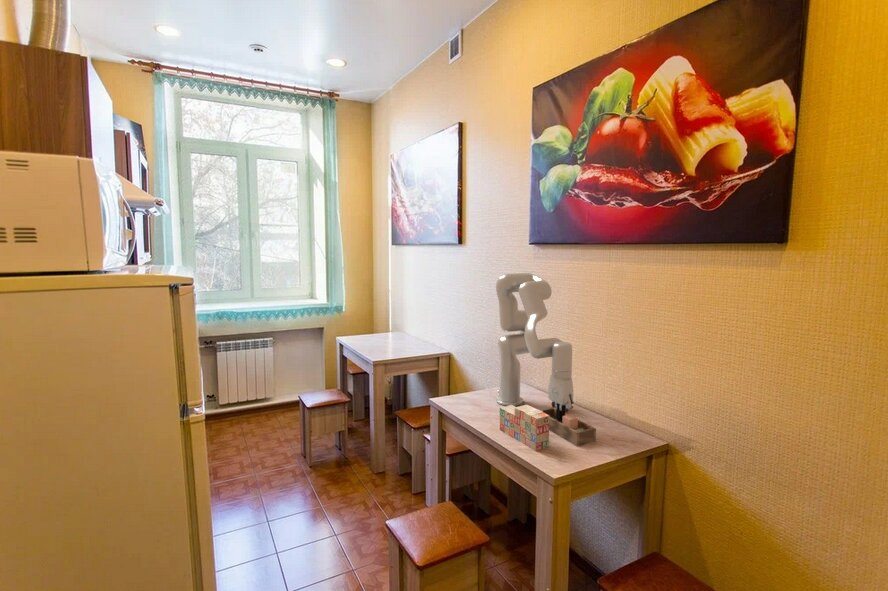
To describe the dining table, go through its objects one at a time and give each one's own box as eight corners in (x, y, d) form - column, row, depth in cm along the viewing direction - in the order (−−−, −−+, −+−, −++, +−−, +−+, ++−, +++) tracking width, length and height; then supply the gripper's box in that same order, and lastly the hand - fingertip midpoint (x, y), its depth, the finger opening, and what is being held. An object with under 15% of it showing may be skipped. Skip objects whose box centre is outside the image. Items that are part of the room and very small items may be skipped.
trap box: (536, 422, 179) (536, 410, 179) (553, 418, 183) (553, 407, 182) (576, 446, 158) (577, 433, 157) (595, 441, 161) (596, 428, 161)
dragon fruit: (573, 412, 195) (554, 421, 189) (561, 397, 200) (542, 405, 194) (581, 401, 189) (562, 410, 183) (568, 385, 194) (549, 394, 188)
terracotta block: (562, 426, 168) (562, 416, 168) (570, 424, 170) (570, 414, 170) (569, 429, 165) (569, 419, 164) (577, 428, 166) (577, 417, 166)
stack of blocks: (499, 430, 172) (499, 400, 171) (511, 426, 175) (512, 397, 174) (536, 451, 154) (536, 418, 153) (549, 447, 157) (550, 414, 156)
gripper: (541, 370, 175) (541, 414, 177) (567, 380, 162) (565, 427, 164) (556, 368, 178) (555, 411, 180) (582, 377, 165) (581, 424, 167)
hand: (560, 419), depth 172 cm, fingers closed
